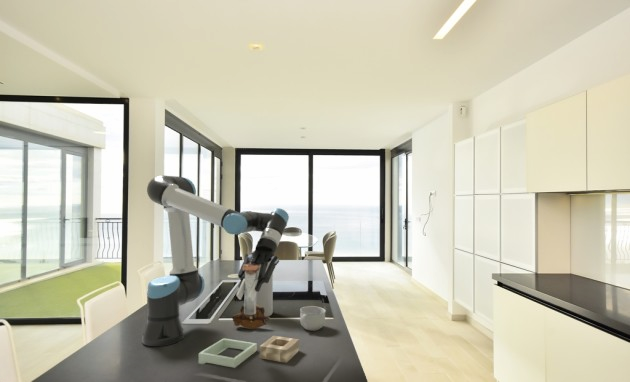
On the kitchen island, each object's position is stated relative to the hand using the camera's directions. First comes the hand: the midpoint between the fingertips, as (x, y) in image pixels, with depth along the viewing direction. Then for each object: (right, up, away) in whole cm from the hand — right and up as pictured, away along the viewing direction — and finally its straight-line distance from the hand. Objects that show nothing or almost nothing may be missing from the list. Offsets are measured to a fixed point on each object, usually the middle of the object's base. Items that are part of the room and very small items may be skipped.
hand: (244, 298), depth 123 cm
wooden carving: (-4, -22, +32) cm, 39 cm away
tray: (-6, -21, +3) cm, 22 cm away
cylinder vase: (-3, -23, +51) cm, 56 cm away
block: (+11, -21, +3) cm, 25 cm away
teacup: (+22, -22, +31) cm, 44 cm away
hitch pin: (+1, -6, +4) cm, 7 cm away
